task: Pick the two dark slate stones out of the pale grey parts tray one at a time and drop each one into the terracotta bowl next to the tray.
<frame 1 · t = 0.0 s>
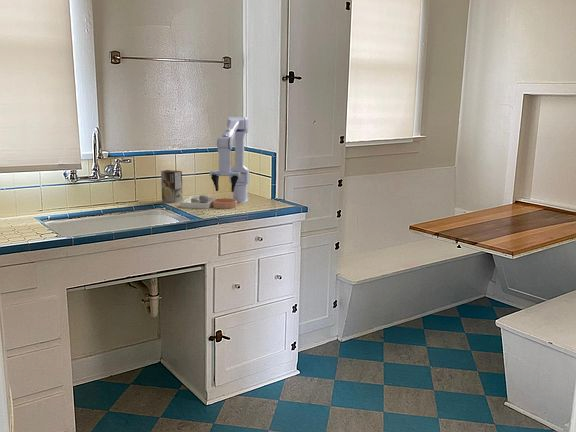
hand: (224, 191, 291), 10 cm above the countertop, tool pointing down, fingers open, 7 cm apart
parts tray: (199, 205, 307), on the countertop
coffee box: (172, 202, 316), on the countertop
bowl: (224, 207, 304), on the countertop
stone a: (203, 202, 311), point 1 cm above the countertop, touching parts tray
stone b: (195, 206, 303), point 1 cm above the countertop, touching parts tray
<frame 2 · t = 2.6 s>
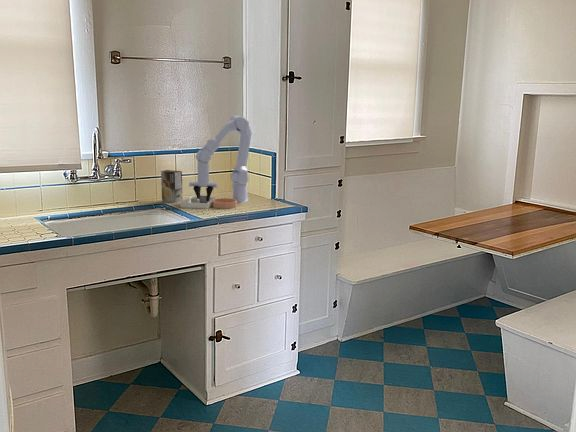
hand: (203, 201, 311), 2 cm above the countertop, tool pointing down, fingers closed on stone a, 4 cm apart
stone a: (203, 202, 311), point 1 cm above the countertop, touching gripper, parts tray
everything else where it was.
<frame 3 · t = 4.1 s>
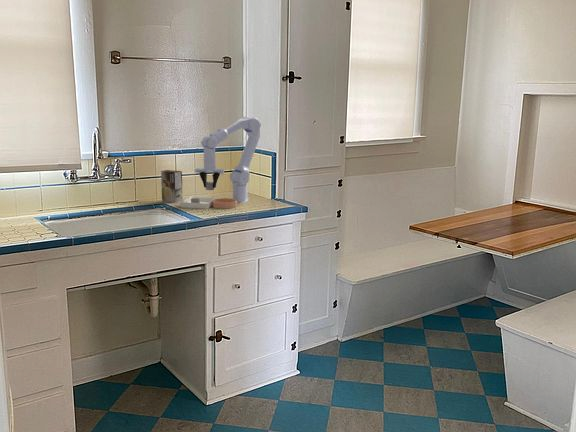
hand: (209, 187, 308), 9 cm above the countertop, tool pointing down, fingers closed on stone a, 4 cm apart
stone a: (209, 189, 309), point 8 cm above the countertop, touching gripper
everything else where it was.
when the fingers open (5 cm above the countertop, at t = 5.7 s): stone a drops 4 cm, resting on bowl.
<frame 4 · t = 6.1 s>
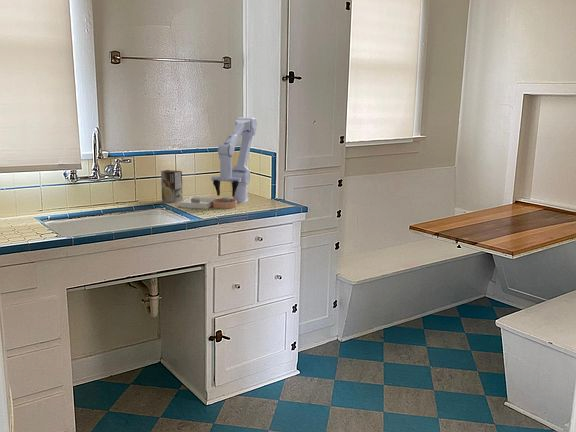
hand: (226, 195, 306), 5 cm above the countertop, tool pointing down, fingers open, 7 cm apart
stone a: (226, 205, 307), point 1 cm above the countertop, touching bowl
everything else where it was.
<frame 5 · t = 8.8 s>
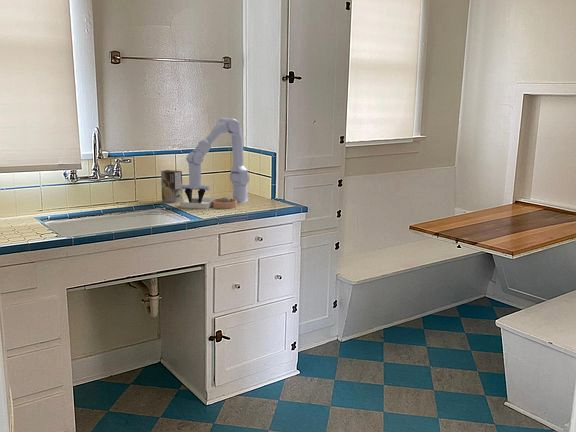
hand: (195, 204, 303), 2 cm above the countertop, tool pointing down, fingers closed on stone b, 4 cm apart
stone b: (195, 206, 303), point 1 cm above the countertop, touching gripper, parts tray
everything else where it was.
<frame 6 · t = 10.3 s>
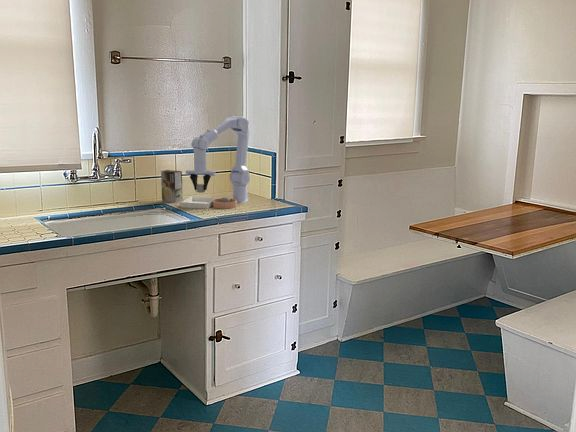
hand: (200, 189, 301), 9 cm above the countertop, tool pointing down, fingers closed on stone b, 4 cm apart
stone b: (200, 191, 301), point 8 cm above the countertop, touching gripper
everything else where it was.
when the fingers open (5 cm above the countertop, at t = 12.0 s): stone b drops 4 cm, resting on bowl.
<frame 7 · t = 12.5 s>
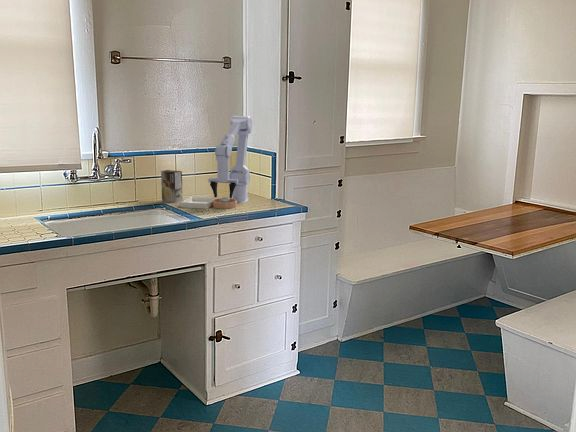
hand: (223, 197, 301), 5 cm above the countertop, tool pointing down, fingers open, 7 cm apart
stone b: (223, 207, 302), point 1 cm above the countertop, touching bowl
everything else where it was.
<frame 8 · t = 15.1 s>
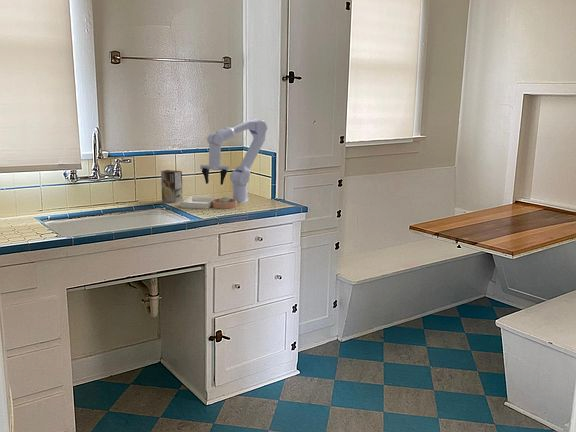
hand: (214, 183, 310), 10 cm above the countertop, tool pointing down, fingers open, 7 cm apart
nothing on the countertop moved.
at the end: stone a inside the target area on the bowl (2.5 cm from its centre), point 0.6 cm above the bowl's base; stone b inside the target area on the bowl (2.6 cm from its centre), point 0.6 cm above the bowl's base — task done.
